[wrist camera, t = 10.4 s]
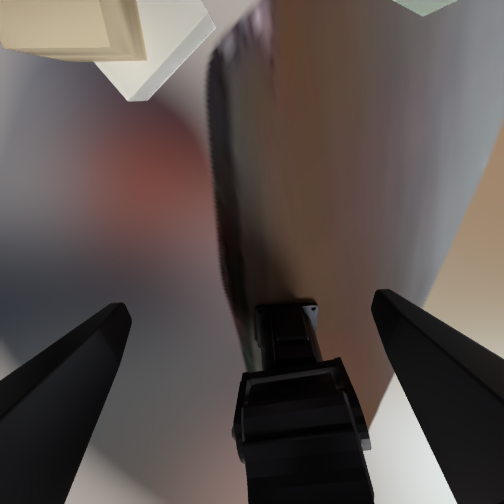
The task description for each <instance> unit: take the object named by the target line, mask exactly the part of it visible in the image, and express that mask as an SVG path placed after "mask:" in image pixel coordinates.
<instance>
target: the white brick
mask: <svg viewBox="0 0 504 504" xmlns="http://www.w3.org/2000/svg"><path fill="white" fill-rule="evenodd" d="M136 1H137V6H138V12H139V17H140V22H141V27H142V33H143V38H144V43H145V49H146V54H147V59H148V61H110V62H94V63H95V64H96V65H97V66H98V67H99V69H100V70H101V71H102V72H103V73H104V74H105V76H107V78H108V79H109V80H110V81H111V82H112V83H113V85H114V86H115V87H116V88H117V89H118V90H119V92H120V93H121V94H122V95H123V96H124V97H125V99H126V100H127V101H148V100H149V99H150V98H151V97H152V95H153V94H154V93H155V92H156V91H157V90H158V89H159V88H160V87H161V86H162V85H163V84H164V83H165V82H166V81H167V80H168V78H169V77H170V76H171V75H172V74H173V73H174V72H175V71H176V70H177V69H178V68H179V67H180V66H181V65H182V63H183V62H185V60H186V59H187V58H188V57H189V56H190V55H191V54H192V53H193V52H194V51H195V50H196V49H197V48H198V47H199V45H201V43H202V42H203V41H204V40H205V39H206V38H207V37H208V36H209V35H210V34H211V33H212V32H213V31H214V30H215V29H216V26H215V24H214V22H213V20H212V18H211V16H210V14H209V12H208V11H207V9H206V7H205V6H204V4H203V2H202V1H201V0H136Z"/></svg>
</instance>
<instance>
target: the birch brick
mask: <svg viewBox="0 0 504 504" xmlns="http://www.w3.org/2000/svg"><path fill="white" fill-rule="evenodd" d="M0 41H1V44H2V46H3V48H4V49H9V50H13V51H18V52H23V53H29V54H33V55H38V56H43V57H48V58H53V59H58V60H63V61H68V62H110V61H148V59H147V54H146V49H145V43H144V38H143V33H142V27H141V22H140V17H139V12H138V6H137V1H136V0H0Z"/></svg>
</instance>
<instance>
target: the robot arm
mask: <svg viewBox="0 0 504 504" xmlns="http://www.w3.org/2000/svg"><path fill="white" fill-rule="evenodd" d="M313 307H314V308H313ZM318 311H319V307H318V304H317V303H295V304H274V305H258V306H256V307H255V316H256V329H257V342H258V347H259V348H261V359H262V371H258V372H252V373H249V372H245V373H243V374H242V380H241V382H240V386H239V392H238V398H237V404H236V410H235V416H234V422H233V423H234V425H233V427H232V437H233V438H234V440H235V441H236V445H237V450H238V455H239V458H240V460H241V462H242V463H243V464H245V466H246V475H247V486H248V503H249V504H374V492H373V487H372V484H371V480H370V476H369V473H368V469H367V465H366V461H365V458H364V454H363V450H371V443H370V438H369V433H368V429H367V426H366V422H365V419H364V415H363V412H362V409H361V406H360V404H359V401H358V398H357V396H356V393H355V391H354V389H353V386H352V384H351V381H350V379H349V377H348V374H347V372H346V370H345V367H344V365H343V363H342V360H341V358H340V357H338V358H334V359H333V360H327V361H323V359H322V355H321V352H320V348H319V345H318V341H317V337H316V328H317V319H318ZM371 311H372V315H373V318H374V321H375V323H376V326H377V329H378V332H379V335H380V338H381V341H382V344H383V346H384V349H385V352H386V354H387V356H388V359H389V361H390V363H391V365H392V367H393V369H394V371H395V373H396V375H397V377H398V380H399V382H400V384H401V386H402V388H403V390H404V392H405V394H406V397H407V399H408V401H409V403H410V405H411V407H412V409H413V411H414V413H415V415H416V418H417V420H418V422H419V424H420V426H421V428H422V430H423V432H424V434H425V436H426V438H427V441H428V443H429V445H430V447H431V449H432V451H433V453H434V455H435V458H436V460H437V462H438V464H439V466H440V468H441V470H442V472H443V474H444V477H445V479H446V481H447V483H448V485H449V487H450V489H451V491H452V493H453V495H454V498H455V500H456V502H457V504H504V359H502V358H501V357H500V356H498V355H496V354H495V353H493V352H491V351H489V350H488V349H486V348H485V347H483V346H482V345H480V344H478V343H477V342H475V341H473V340H472V339H470V338H469V337H467V336H465V335H463V334H462V333H460V332H459V331H457V330H455V329H454V328H452V327H450V326H449V325H447V324H446V323H444V322H442V321H441V320H439V319H438V318H436V317H434V316H432V315H431V314H429V313H428V312H426V311H424V310H423V309H421V308H420V307H418V306H416V305H415V304H413V303H411V302H410V301H408V300H406V299H405V298H403V297H402V296H400V295H398V294H397V293H395V292H393V291H392V290H390V289H378V290H376V292H375V295H374V298H373V302H372V305H371ZM131 324H132V319H131V316H130V315H129V312H128V310H127V308H126V306H125V304H124V303H122V302H117V303H110V304H109V305H107V306H106V307H104V308H103V309H102V310H100V311H99V312H97V313H96V314H94V315H93V316H92V317H90V318H89V319H87V320H86V321H85V322H83V323H82V324H80V325H79V326H77V327H76V328H75V329H73V330H72V331H70V332H69V333H67V334H66V335H65V336H63V337H62V338H60V339H59V340H57V341H56V342H55V343H53V344H52V345H50V346H49V347H48V348H46V349H45V350H43V351H42V352H40V353H39V354H38V355H36V356H35V357H33V358H32V359H30V360H29V361H27V362H26V363H25V364H23V365H22V366H21V367H19V368H17V369H16V370H15V371H13V372H12V373H10V374H9V375H7V376H6V377H5V378H3V379H2V380H0V504H64V503H65V501H66V498H67V496H68V493H69V491H70V488H71V486H72V483H73V481H74V478H75V476H76V473H77V471H78V468H79V466H80V463H81V461H82V458H83V456H84V453H85V451H86V448H87V446H88V443H89V441H90V438H91V436H92V433H93V431H94V428H95V426H96V423H97V421H98V418H99V416H100V413H101V411H102V408H103V406H104V403H105V401H106V398H107V396H108V393H109V391H110V388H111V386H112V383H113V381H114V378H115V376H116V373H117V371H118V368H119V365H120V362H121V359H122V356H123V352H124V349H125V345H126V342H127V338H128V335H129V331H130V328H131Z"/></svg>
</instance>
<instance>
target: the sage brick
mask: <svg viewBox="0 0 504 504" xmlns="http://www.w3.org/2000/svg"><path fill="white" fill-rule="evenodd" d="M393 1H395V2H397V3H399V4H400V5H402V6H404V7H406V8H408V9H410V10H412V11H413V12H415V13H417V14H419V15H421V16H426V15H428V14H430V13H432V12H434V11H436V10H438V9H440V8H443V7H445V6H447V5H449V4H451V3H453V2H455V1H457V0H393Z"/></svg>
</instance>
